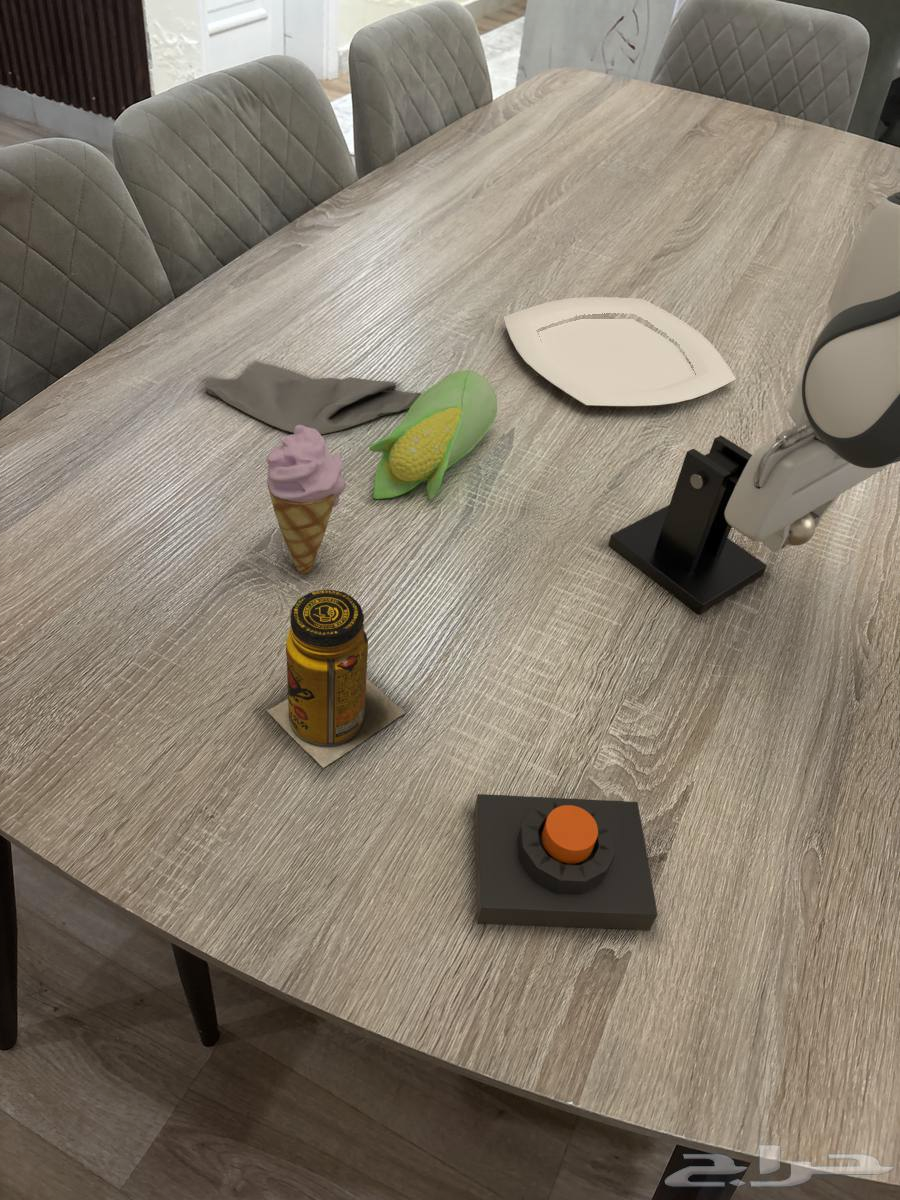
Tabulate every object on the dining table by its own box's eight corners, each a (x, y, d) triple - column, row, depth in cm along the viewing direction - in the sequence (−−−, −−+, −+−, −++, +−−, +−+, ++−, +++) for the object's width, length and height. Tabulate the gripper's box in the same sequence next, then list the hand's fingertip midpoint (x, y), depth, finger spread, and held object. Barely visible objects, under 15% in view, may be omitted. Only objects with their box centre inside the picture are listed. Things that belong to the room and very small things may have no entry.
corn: (528, 397, 104) (444, 491, 91) (484, 433, 110) (399, 526, 97) (478, 340, 102) (386, 428, 89) (436, 379, 108) (344, 467, 95)
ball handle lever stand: (763, 575, 93) (809, 471, 85) (699, 615, 88) (741, 508, 79) (672, 511, 100) (706, 408, 91) (607, 545, 94) (637, 439, 86)
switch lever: (813, 544, 83) (828, 517, 81) (792, 557, 82) (807, 530, 79) (710, 471, 89) (721, 443, 87) (689, 481, 87) (699, 454, 85)
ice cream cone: (334, 543, 91) (337, 410, 80) (350, 586, 87) (355, 451, 76) (265, 552, 89) (258, 417, 78) (278, 597, 85) (273, 460, 74)
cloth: (183, 417, 103) (181, 400, 102) (224, 356, 113) (223, 339, 112) (416, 457, 102) (417, 439, 101) (436, 392, 112) (438, 375, 111)
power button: (589, 819, 67) (594, 805, 65) (596, 865, 64) (601, 851, 63) (539, 817, 66) (543, 803, 65) (543, 863, 64) (548, 849, 62)
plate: (576, 433, 109) (579, 419, 107) (476, 322, 126) (478, 309, 124) (759, 399, 118) (764, 385, 117) (644, 300, 135) (647, 288, 134)
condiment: (266, 712, 75) (259, 605, 67) (348, 663, 80) (351, 557, 72) (323, 770, 72) (323, 664, 63) (405, 715, 76) (416, 610, 68)
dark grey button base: (631, 818, 71) (643, 787, 68) (649, 930, 65) (664, 901, 62) (473, 810, 70) (480, 779, 68) (477, 923, 64) (484, 894, 61)
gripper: (807, 463, 66) (745, 602, 76) (950, 385, 77) (880, 516, 86) (736, 420, 70) (685, 558, 79) (884, 351, 80) (823, 481, 90)
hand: (788, 536), depth 83 cm, fingers closed on switch lever, 3 cm apart
